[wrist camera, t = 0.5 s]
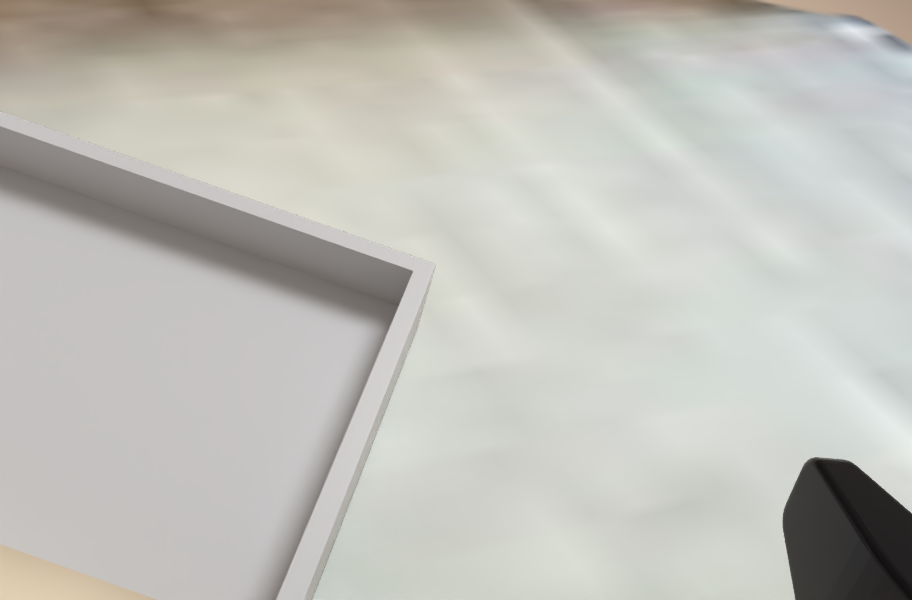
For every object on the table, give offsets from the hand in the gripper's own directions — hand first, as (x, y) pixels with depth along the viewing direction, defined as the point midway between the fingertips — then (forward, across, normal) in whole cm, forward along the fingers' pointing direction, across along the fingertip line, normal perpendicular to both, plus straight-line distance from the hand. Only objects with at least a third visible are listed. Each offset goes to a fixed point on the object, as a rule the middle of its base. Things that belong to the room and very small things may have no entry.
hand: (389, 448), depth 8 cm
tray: (+12, +12, +10) cm, 19 cm away
